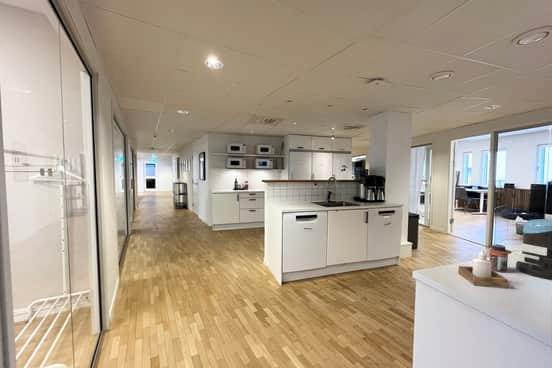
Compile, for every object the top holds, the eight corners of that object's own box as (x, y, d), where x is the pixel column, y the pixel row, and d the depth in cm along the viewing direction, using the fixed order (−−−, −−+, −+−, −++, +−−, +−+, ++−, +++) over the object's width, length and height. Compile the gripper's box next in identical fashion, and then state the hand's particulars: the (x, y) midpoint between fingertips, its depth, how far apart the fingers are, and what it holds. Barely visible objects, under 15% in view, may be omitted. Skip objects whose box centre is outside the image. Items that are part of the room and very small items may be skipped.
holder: (487, 275, 100) (487, 267, 99) (507, 288, 89) (507, 279, 89) (458, 273, 102) (458, 265, 102) (474, 285, 91) (474, 276, 91)
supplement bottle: (485, 266, 109) (486, 243, 108) (500, 267, 108) (501, 243, 107) (494, 272, 103) (496, 247, 102) (510, 273, 102) (512, 248, 101)
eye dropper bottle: (489, 283, 92) (490, 253, 91) (471, 278, 96) (472, 249, 96) (491, 279, 95) (492, 251, 94) (474, 275, 99) (475, 247, 98)
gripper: (615, 298, 62) (506, 269, 80) (618, 272, 76) (524, 253, 93) (618, 271, 61) (507, 248, 79) (620, 250, 75) (525, 234, 93)
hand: (516, 250), depth 86 cm, fingers open, 13 cm apart
